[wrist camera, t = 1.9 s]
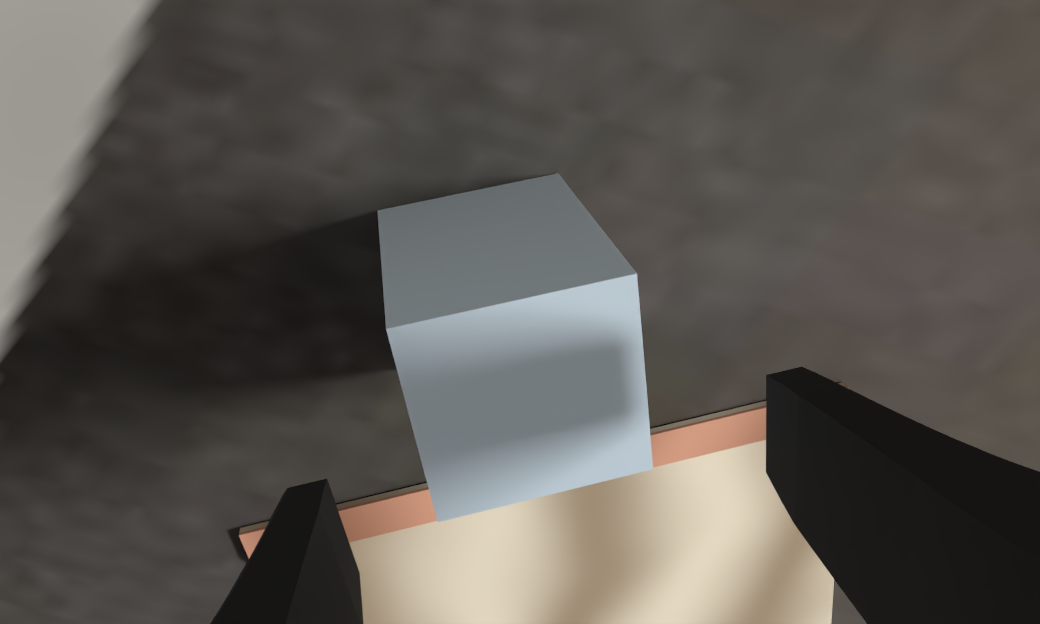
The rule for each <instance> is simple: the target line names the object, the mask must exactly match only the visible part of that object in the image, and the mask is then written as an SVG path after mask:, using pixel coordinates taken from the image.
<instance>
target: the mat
mask: <svg viewBox="0 0 1040 624" xmlns="http://www.w3.org/2000/svg"><path fill="white" fill-rule="evenodd" d="M838 384H840V385H842V386H844V387H846V388H848V389H849V387H848V386H847V385H846V384H845V383H843V382H842V383H838ZM650 437H651V449H652V461H653V469H652V470H648V471H644V472H640V473H636V474H632V475H628V476H624V477H620V478H616V479H612V480H608V481H603V482H599V483H595V484H591V485H587V486H583V487H579V488H575V489H571V490H567V491H563V492H559V493H555V494H551V495H547V496H543V497H539V498H535V499H531V500H527V501H522V502H518V503H514V504H510V505H506V506H502V507H498V508H494V509H490V510H486V511H482V512H478V513H474V514H470V515H466V516H462V517H458V518H454V519H450V520H445V521H441V522H437V518H436V514H435V510H434V507H433V503H432V499H431V495H430V492H429V488H428V484H427V483H424V484H420V485H416V486H411V487H407V488H403V489H399V490H395V491H391V492H387V493H382V494H378V495H374V496H370V497H366V498H362V499H358V500H354V501H349V502H345V503H341V504H337V505H336V506H337V509H338V512H339V515H340V518H341V521H342V523H343V526H344V529H345V532H346V535H347V538H348V541H349V544H350V547H351V549H352V552H353V555H354V558H355V561H356V564H357V567H358V570H359V572H360V584H361V596H362V610H363V624H831V618H832V603H833V588H834V578H833V577H832V575H831V574H830V573H829V571H828V570H827V569H826V567H825V566H824V565H823V563H822V562H821V560H820V559H819V558H818V556H817V555H816V554H815V552H814V551H813V549H812V548H811V547H810V545H809V544H808V543H807V541H806V540H805V538H804V537H803V536H802V534H801V533H800V531H799V530H798V529H797V527H796V526H795V524H794V523H793V521H792V519H791V517H790V516H789V514H788V512H787V510H786V509H785V507H784V505H783V503H782V502H781V500H780V498H779V496H778V494H777V492H776V490H775V488H774V487H773V485H772V483H771V481H770V479H769V477H768V475H767V473H766V401H763V402H759V403H755V404H751V405H747V406H742V407H738V408H734V409H730V410H726V411H722V412H718V413H713V414H709V415H705V416H701V417H697V418H693V419H689V420H684V421H680V422H676V423H672V424H668V425H664V426H660V427H656V428H651V429H650ZM268 523H269V521H267V522H262V523H258V524H254V525H250V526H246V527H242V528H240V531H239V537H240V540H241V542H242V544H243V546H244V549H245V551H246V553H247V556H248V558H250V556H251V554H252V553H253V551H254V549H255V547H256V545H257V543H258V541H259V540H260V538H261V536H262V534H263V532H264V530H265V528H266V526H267V524H268Z"/></svg>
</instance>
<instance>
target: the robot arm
mask: <svg viewBox="0 0 1040 624" xmlns="http://www.w3.org/2000/svg"><path fill="white" fill-rule="evenodd" d="M766 473H767V475H768V477H769V479H770V481H771V483H772V485H773V487H774V488H775V490H776V492H777V494H778V496H779V498H780V500H781V502H782V503H783V505H784V507H785V509H786V510H787V512H788V514H789V516H790V517H791V519H792V521H793V523H794V524H795V526H796V527H797V529H798V530H799V531H800V533H801V534H802V536H803V537H804V538H805V540H806V541H807V543H808V544H809V545H810V547H811V548H812V549H813V551H814V552H815V554H816V555H817V556H818V558H819V559H820V560H821V562H822V563H823V565H824V566H825V567H826V569H827V570H828V571H829V573H830V574H831V575H832V577H833V578H834V579H835V581H836V582H837V584H838V585H839V586H840V588H841V589H842V590H843V592H844V593H845V594H846V596H847V597H848V598H849V600H850V601H851V602H852V604H853V605H854V606H855V608H856V609H857V611H858V612H859V613H860V615H861V616H862V617H863V619H864V620H865V621H866V623H867V624H1040V472H1039V471H1036V470H1033V469H1030V468H1027V467H1024V466H1021V465H1018V464H1016V463H1013V462H1010V461H1008V460H1005V459H1002V458H1000V457H997V456H995V455H992V454H990V453H987V452H985V451H982V450H980V449H978V448H975V447H973V446H970V445H968V444H966V443H963V442H961V441H958V440H956V439H954V438H951V437H949V436H947V435H945V434H942V433H940V432H938V431H936V430H933V429H931V428H929V427H927V426H924V425H922V424H920V423H918V422H916V421H914V420H912V419H909V418H907V417H905V416H903V415H901V414H899V413H897V412H895V411H893V410H891V409H889V408H886V407H884V406H882V405H880V404H878V403H876V402H874V401H872V400H870V399H868V398H866V397H864V396H862V395H860V394H858V393H856V392H854V391H852V390H850V389H848V388H846V387H844V386H842V385H840V384H838V383H836V382H834V381H832V380H830V379H828V378H825V377H823V376H821V375H819V374H817V373H815V372H813V371H810V370H808V369H806V368H803V367H799V368H794V369H790V370H786V371H782V372H778V373H773V374H769V375H766ZM210 624H363V610H362V596H361V584H360V572H359V570H358V567H357V564H356V561H355V558H354V555H353V552H352V549H351V547H350V544H349V541H348V538H347V535H346V532H345V529H344V526H343V523H342V521H341V518H340V515H339V512H338V509H337V506H336V503H335V500H334V498H333V495H332V492H331V489H330V486H329V483H328V480H327V479H324V480H320V481H315V482H311V483H307V484H303V485H298V486H294V487H290V488H287V490H286V491H285V493H284V494H283V496H282V497H281V499H280V501H279V503H278V505H277V507H276V509H275V511H274V513H273V515H272V517H271V519H270V521H269V523H268V524H267V526H266V528H265V530H264V532H263V534H262V536H261V538H260V540H259V541H258V543H257V545H256V547H255V549H254V551H253V553H252V554H251V556H250V558H249V560H248V562H247V563H246V565H245V567H244V569H243V570H242V572H241V574H240V575H239V577H238V579H237V581H236V582H235V584H234V586H233V588H232V589H231V591H230V593H229V595H228V596H227V598H226V600H225V601H224V603H223V605H222V606H221V608H220V609H219V611H218V612H217V614H216V616H215V617H214V619H213V620H212V622H211V623H210Z"/></svg>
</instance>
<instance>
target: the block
mask: <svg viewBox="0 0 1040 624" xmlns="http://www.w3.org/2000/svg"><path fill="white" fill-rule="evenodd" d="M377 212H378V226H379V239H380V253H381V267H382V280H383V294H384V308H385V322H386V331H387V334H388V338H389V342H390V346H391V349H392V353H393V357H394V361H395V364H396V368H397V372H398V376H399V379H400V383H401V387H402V391H403V394H404V398H405V402H406V406H407V409H408V413H409V417H410V421H411V424H412V428H413V432H414V436H415V439H416V443H417V447H418V451H419V454H420V458H421V462H422V466H423V469H424V473H425V477H426V481H427V484H428V488H429V492H430V495H431V499H432V503H433V507H434V510H435V514H436V518H437V522H441V521H445V520H450V519H454V518H458V517H462V516H466V515H470V514H474V513H478V512H482V511H486V510H490V509H494V508H498V507H502V506H506V505H510V504H514V503H518V502H522V501H527V500H531V499H535V498H539V497H543V496H547V495H551V494H555V493H559V492H563V491H567V490H571V489H575V488H579V487H583V486H587V485H591V484H595V483H599V482H603V481H608V480H612V479H616V478H620V477H624V476H628V475H632V474H636V473H640V472H644V471H648V470H652V469H653V461H652V449H651V437H650V425H649V413H648V401H647V389H646V377H645V365H644V353H643V341H642V329H641V318H640V306H639V294H638V282H637V273H636V272H635V271H634V269H633V268H632V267H631V266H630V264H629V263H628V262H627V260H626V259H625V258H624V257H623V255H622V254H621V253H620V252H619V250H618V249H617V248H616V246H615V245H614V244H613V243H612V241H611V240H610V239H609V238H608V236H607V235H606V234H605V232H604V231H603V230H602V229H601V227H600V226H599V225H598V224H597V222H596V221H595V220H594V218H593V217H592V216H591V215H590V213H589V212H588V211H587V210H586V208H585V207H584V206H583V204H582V203H581V202H580V201H579V199H578V198H577V197H576V196H575V194H574V193H573V192H572V190H571V189H570V188H569V187H568V185H567V184H566V183H565V182H564V180H563V179H562V178H561V176H560V175H559V174H558V173H557V174H552V175H547V176H542V177H538V178H533V179H528V180H523V181H518V182H513V183H509V184H504V185H499V186H494V187H489V188H484V189H479V190H475V191H470V192H465V193H460V194H455V195H450V196H446V197H441V198H436V199H431V200H426V201H421V202H416V203H412V204H407V205H402V206H397V207H392V208H387V209H383V210H378V211H377Z"/></svg>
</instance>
